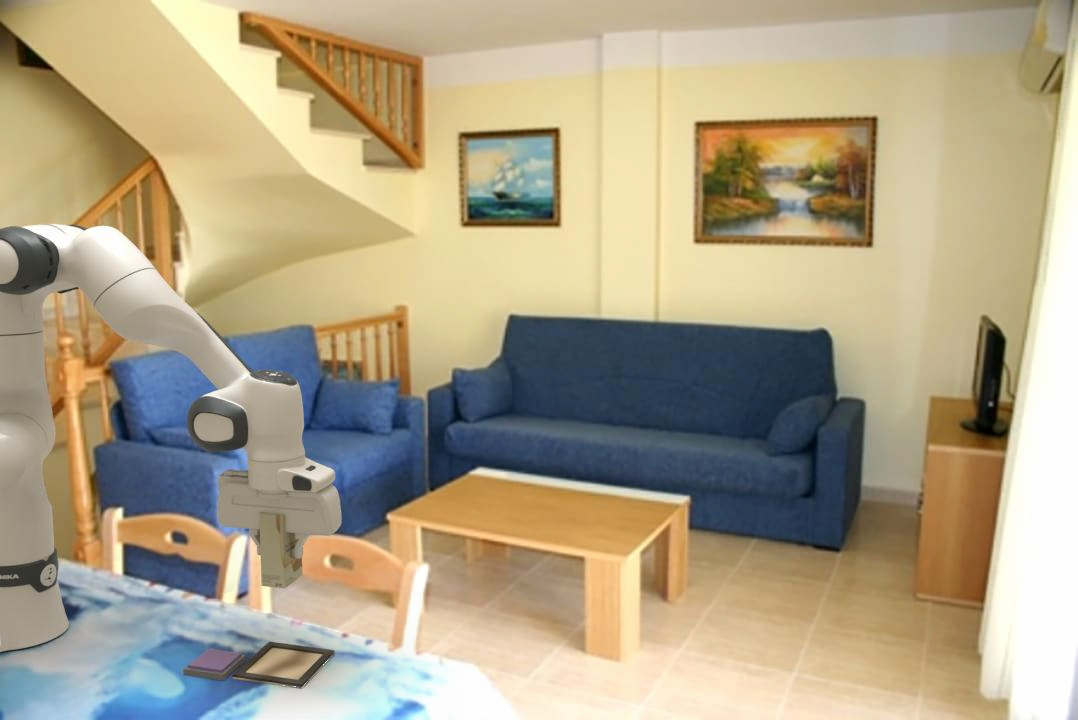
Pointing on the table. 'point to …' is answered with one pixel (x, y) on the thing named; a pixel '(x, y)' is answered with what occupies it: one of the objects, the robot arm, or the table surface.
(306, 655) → the framed board
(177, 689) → the table surface
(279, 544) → the skincare box
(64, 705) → the table surface
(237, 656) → the pad
